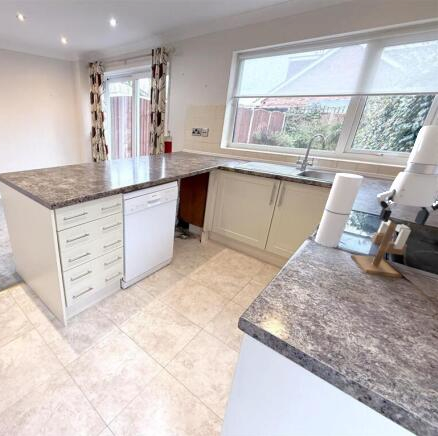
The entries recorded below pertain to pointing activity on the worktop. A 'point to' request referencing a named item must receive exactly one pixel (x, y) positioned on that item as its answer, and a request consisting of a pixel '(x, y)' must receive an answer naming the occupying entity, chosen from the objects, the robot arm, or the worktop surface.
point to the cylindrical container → (338, 209)
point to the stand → (380, 255)
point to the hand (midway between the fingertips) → (400, 222)
